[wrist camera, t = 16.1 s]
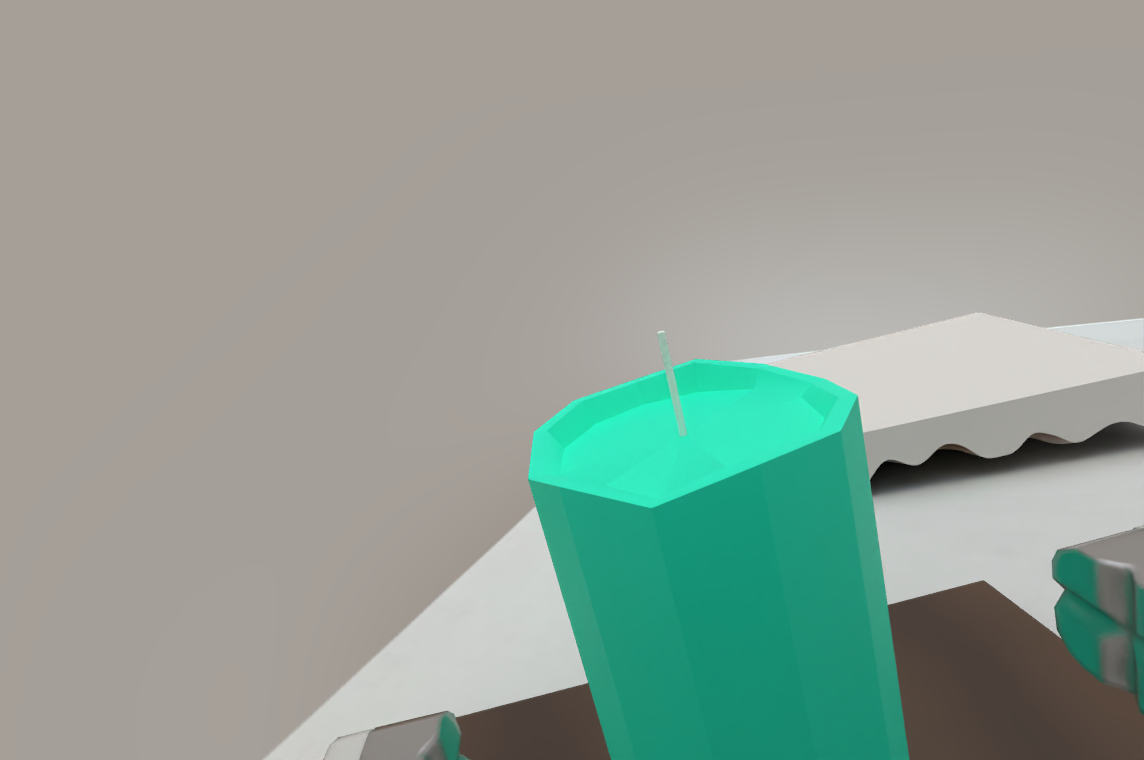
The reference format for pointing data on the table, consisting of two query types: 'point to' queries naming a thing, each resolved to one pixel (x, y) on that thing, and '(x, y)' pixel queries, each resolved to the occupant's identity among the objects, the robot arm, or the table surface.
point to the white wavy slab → (980, 387)
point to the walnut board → (904, 694)
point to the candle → (722, 565)
